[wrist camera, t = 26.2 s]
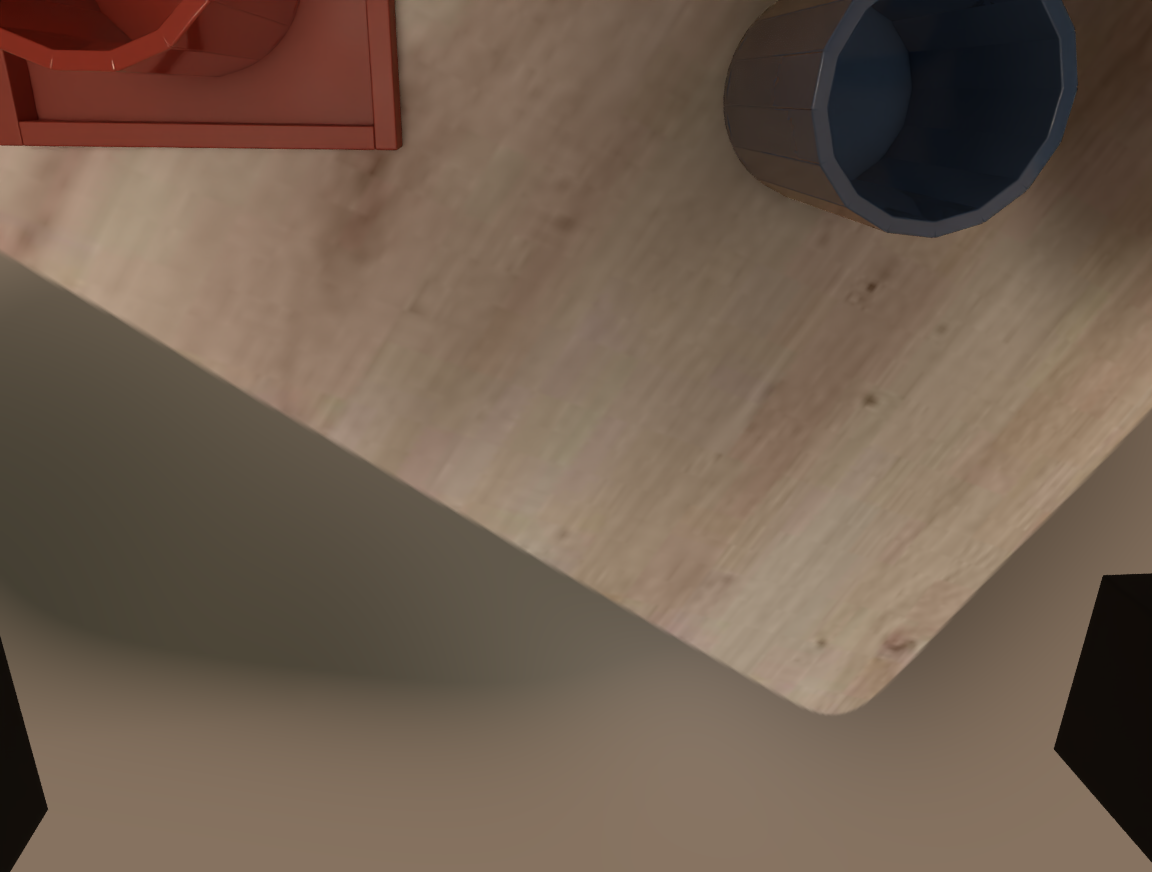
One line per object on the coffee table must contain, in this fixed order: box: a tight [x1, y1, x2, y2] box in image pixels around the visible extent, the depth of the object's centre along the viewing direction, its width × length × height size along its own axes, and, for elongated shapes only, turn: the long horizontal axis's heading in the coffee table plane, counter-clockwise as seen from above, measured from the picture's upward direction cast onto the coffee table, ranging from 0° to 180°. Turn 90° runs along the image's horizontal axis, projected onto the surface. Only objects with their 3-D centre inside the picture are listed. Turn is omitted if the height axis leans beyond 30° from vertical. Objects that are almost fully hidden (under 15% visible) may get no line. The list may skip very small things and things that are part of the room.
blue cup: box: [724, 0, 1078, 238], centre depth 29 cm, size 8×8×10 cm
